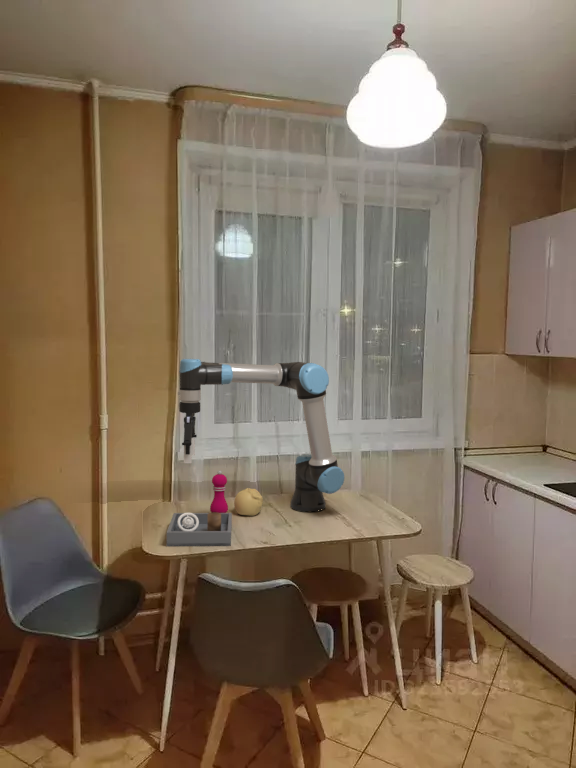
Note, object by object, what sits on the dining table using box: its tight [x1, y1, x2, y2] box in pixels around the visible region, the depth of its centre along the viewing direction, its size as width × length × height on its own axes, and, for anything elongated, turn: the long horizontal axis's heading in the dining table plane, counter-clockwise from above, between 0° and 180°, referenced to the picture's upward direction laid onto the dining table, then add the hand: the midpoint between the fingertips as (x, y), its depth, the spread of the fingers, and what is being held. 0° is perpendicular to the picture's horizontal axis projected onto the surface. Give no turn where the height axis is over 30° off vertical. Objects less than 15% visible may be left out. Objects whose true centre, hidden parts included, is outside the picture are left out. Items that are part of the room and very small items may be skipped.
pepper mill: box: [209, 470, 229, 513], centre depth 238 cm, size 7×7×20 cm
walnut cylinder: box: [207, 512, 221, 531], centre depth 219 cm, size 5×5×7 cm
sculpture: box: [233, 487, 264, 517], centre depth 246 cm, size 11×12×11 cm
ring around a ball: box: [177, 512, 199, 531], centre depth 222 cm, size 8×6×8 cm
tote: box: [166, 512, 233, 547], centre depth 219 cm, size 22×22×5 cm
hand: (189, 459), depth 217 cm, fingers open, 13 cm apart
